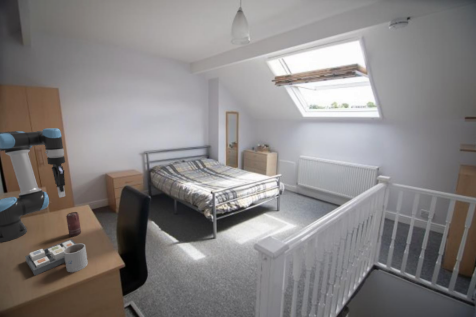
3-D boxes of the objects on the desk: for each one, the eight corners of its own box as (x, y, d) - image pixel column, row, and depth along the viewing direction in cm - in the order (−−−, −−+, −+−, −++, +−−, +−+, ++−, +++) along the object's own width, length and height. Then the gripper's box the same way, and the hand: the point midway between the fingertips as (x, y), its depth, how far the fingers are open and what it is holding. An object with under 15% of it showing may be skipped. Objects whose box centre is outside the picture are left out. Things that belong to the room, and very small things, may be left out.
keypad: (26, 261, 113) (24, 255, 112) (72, 243, 129) (71, 238, 128) (34, 275, 103) (33, 269, 102) (83, 254, 119) (82, 249, 118)
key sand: (52, 256, 114) (51, 251, 113) (64, 251, 118) (63, 246, 117) (55, 260, 111) (54, 254, 110) (67, 255, 115) (66, 250, 114)
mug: (89, 265, 110) (87, 248, 108) (69, 274, 104) (65, 256, 102) (83, 255, 118) (80, 238, 116) (63, 263, 112) (60, 245, 110)
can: (75, 237, 135) (72, 216, 132) (66, 236, 137) (63, 215, 134) (83, 232, 141) (81, 212, 138) (75, 231, 142) (72, 211, 140)
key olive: (48, 253, 118) (47, 248, 118) (60, 249, 122) (59, 244, 122) (51, 257, 115) (50, 252, 115) (63, 252, 119) (62, 247, 119)
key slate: (30, 258, 112) (29, 252, 112) (43, 253, 116) (42, 248, 116) (32, 261, 109) (31, 256, 109) (45, 256, 113) (44, 251, 113)
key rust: (34, 266, 108) (33, 261, 108) (47, 261, 112) (46, 255, 112) (37, 270, 106) (36, 265, 105) (50, 265, 110) (49, 259, 109)
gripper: (43, 156, 122) (50, 195, 126) (50, 159, 114) (57, 201, 119) (60, 154, 128) (66, 192, 132) (68, 156, 120) (74, 197, 125)
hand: (62, 196), depth 126 cm, fingers closed
